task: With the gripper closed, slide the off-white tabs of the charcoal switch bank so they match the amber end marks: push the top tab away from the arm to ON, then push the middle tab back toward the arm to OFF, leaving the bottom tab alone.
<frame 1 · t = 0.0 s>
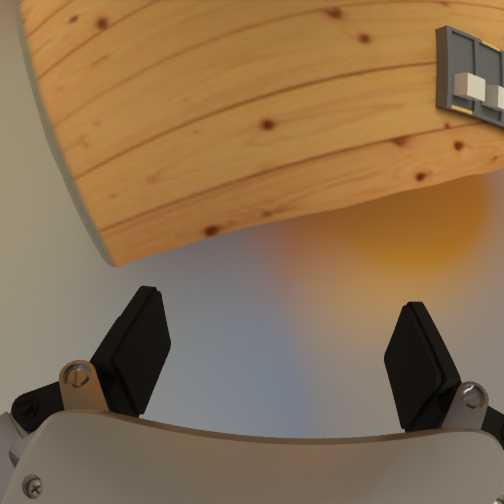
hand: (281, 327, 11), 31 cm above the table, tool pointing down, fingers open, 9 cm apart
tab 1: (468, 86, 26), point 5 cm above the table, slide at 2.5 cm
switch bank: (479, 81, 28), on the table
tab 2: (497, 98, 25), point 5 cm above the table, slide at 2.5 cm
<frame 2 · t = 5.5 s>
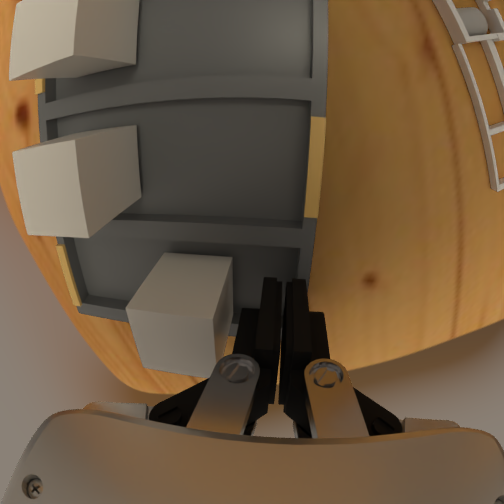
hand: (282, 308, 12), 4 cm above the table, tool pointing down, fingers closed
tab 1: (76, 31, 7), point 5 cm above the table, slide at 2.5 cm
switch bank: (183, 149, 13), on the table
tab 3: (187, 311, 12), point 5 cm above the table, slide at -1.3 cm, touching gripper
tab 2: (80, 175, 9), point 5 cm above the table, slide at 2.5 cm
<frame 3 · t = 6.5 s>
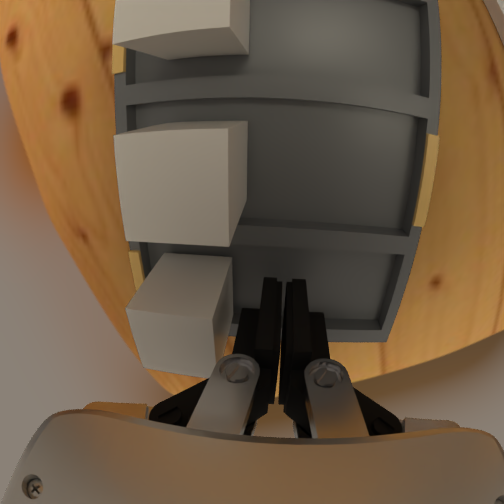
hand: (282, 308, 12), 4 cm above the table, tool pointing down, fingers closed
tab 1: (192, 4, 6), point 5 cm above the table, slide at 2.5 cm
switch bank: (276, 151, 13), on the table
tab 3: (187, 312, 12), point 5 cm above the table, slide at 3.1 cm, touching gripper
tab 2: (191, 172, 9), point 5 cm above the table, slide at 2.5 cm
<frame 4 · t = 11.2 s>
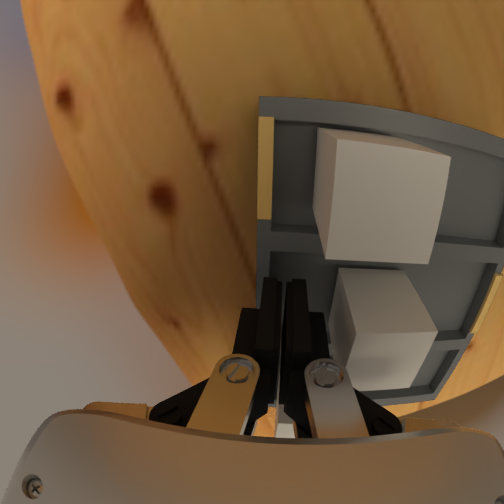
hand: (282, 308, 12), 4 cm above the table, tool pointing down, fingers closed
tab 1: (370, 185, 8), point 5 cm above the table, slide at 2.5 cm
switch bank: (374, 267, 15), on the table
tab 3: (307, 406, 14), point 5 cm above the table, slide at 3.2 cm
tab 2: (375, 327, 11), point 5 cm above the table, slide at 1.1 cm, touching gripper
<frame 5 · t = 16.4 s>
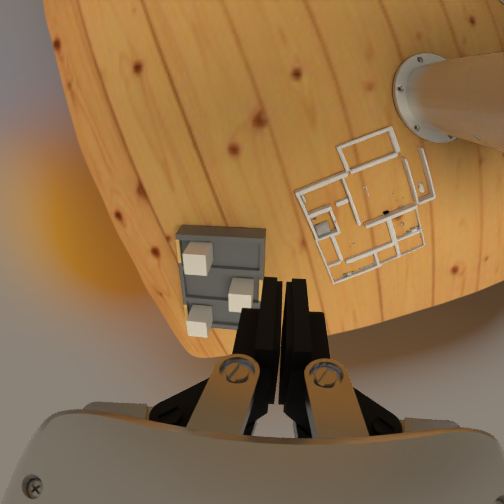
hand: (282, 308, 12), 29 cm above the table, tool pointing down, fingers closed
floor plan model: (364, 184, 38), on the table
tab 1: (198, 257, 40), point 5 cm above the table, slide at 2.5 cm
switch bank: (224, 275, 46), on the table
tab 3: (200, 320, 45), point 5 cm above the table, slide at 3.2 cm
tab 2: (241, 294, 42), point 5 cm above the table, slide at -3.2 cm
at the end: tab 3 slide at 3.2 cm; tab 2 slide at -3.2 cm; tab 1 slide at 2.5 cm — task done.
